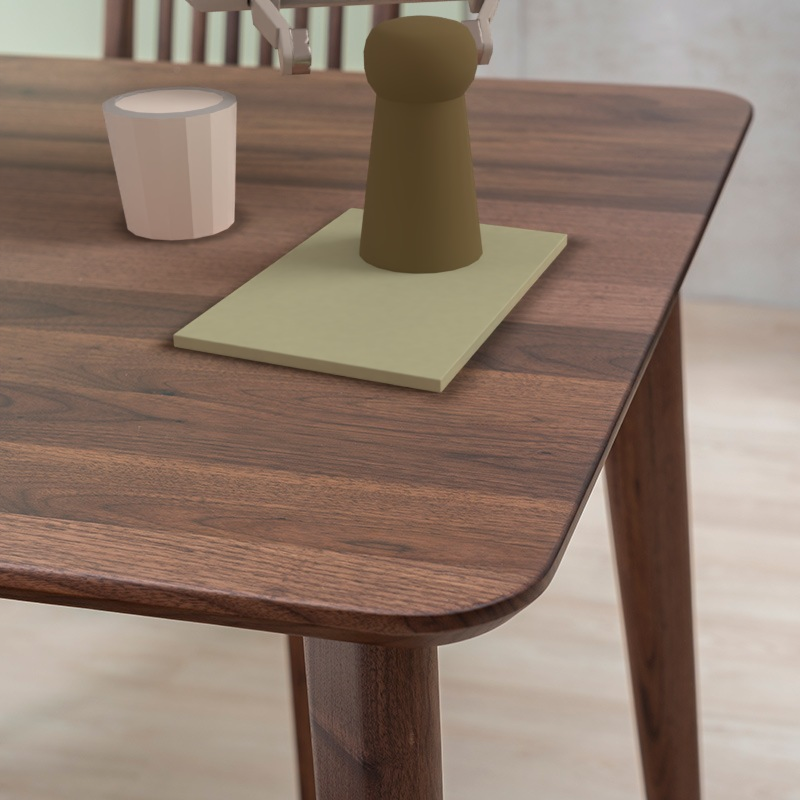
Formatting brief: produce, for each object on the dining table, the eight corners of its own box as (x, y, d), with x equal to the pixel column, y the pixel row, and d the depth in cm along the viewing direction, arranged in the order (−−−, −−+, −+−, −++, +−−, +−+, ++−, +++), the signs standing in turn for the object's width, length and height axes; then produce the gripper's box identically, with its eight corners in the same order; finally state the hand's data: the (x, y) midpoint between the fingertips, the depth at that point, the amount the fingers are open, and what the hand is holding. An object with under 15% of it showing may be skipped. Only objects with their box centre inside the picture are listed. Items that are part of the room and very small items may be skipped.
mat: (351, 225, 68) (350, 207, 67) (566, 252, 64) (567, 233, 63) (174, 356, 53) (172, 334, 53) (440, 403, 49) (440, 379, 48)
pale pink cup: (130, 259, 63) (114, 122, 60) (105, 219, 69) (90, 91, 66) (261, 241, 66) (253, 107, 62) (227, 203, 71) (217, 79, 68)
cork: (500, 240, 62) (507, 12, 57) (454, 281, 58) (456, 35, 53) (391, 224, 65) (388, 3, 60) (337, 262, 60) (328, 25, 55)
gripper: (155, -196, 64) (181, 37, 60) (542, -202, 67) (592, 17, 63) (161, -109, 70) (185, 108, 66) (516, -119, 73) (560, 87, 69)
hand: (388, 64), depth 64 cm, fingers open, 8 cm apart
